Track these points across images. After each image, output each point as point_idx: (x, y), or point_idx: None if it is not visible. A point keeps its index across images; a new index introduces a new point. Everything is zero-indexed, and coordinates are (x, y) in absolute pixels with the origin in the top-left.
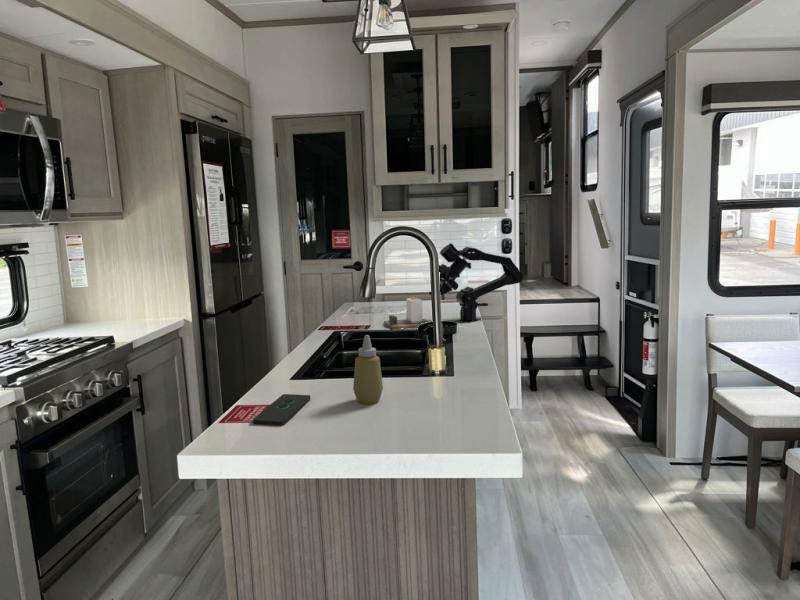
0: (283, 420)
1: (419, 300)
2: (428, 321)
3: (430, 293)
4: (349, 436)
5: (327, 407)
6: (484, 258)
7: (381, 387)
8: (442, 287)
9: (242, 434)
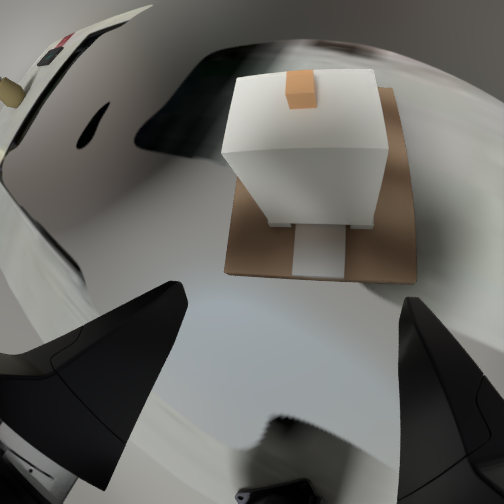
0: (37, 64)
1: (226, 130)
2: (293, 276)
3: (403, 318)
4: None
5: (34, 79)
6: None
7: (6, 105)
8: (41, 360)
9: (46, 53)
